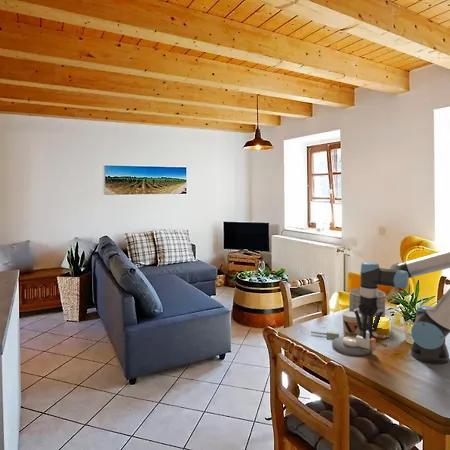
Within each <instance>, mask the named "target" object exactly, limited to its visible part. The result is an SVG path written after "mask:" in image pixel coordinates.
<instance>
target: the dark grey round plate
mask: <svg viewBox="0 0 450 450" xmlns="http://www.w3.org/2000/svg"><path fill="white" fill-rule="evenodd" d="M343 338H344V336H339V337H338V338H336V339H334V338H333V340H332V343H331V345H332V348H333V349H334V350H335V351H337V352H338V353H341V354H343V355H347V356H355V357H359V356H360V357H362V356H367V355H369V354H370V353H372V350H370V349H366V348H363V347H360V346H358V347H350V346H347V345H345V344H343ZM364 349H365V350H368V351H369V352H367V351H364Z"/></svg>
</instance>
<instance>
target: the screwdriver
mask: <svg viewBox="0 0 450 450" xmlns="http://www.w3.org/2000/svg"><path fill="white" fill-rule="evenodd" d="M310 333H311V334H317V335H323V336H326V338H327V339H333V340H334V339H336V338H338V337H340V332H339V331H334V330H326V332H323V331H322V332H321V331H312V330H311V332H310Z"/></svg>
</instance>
